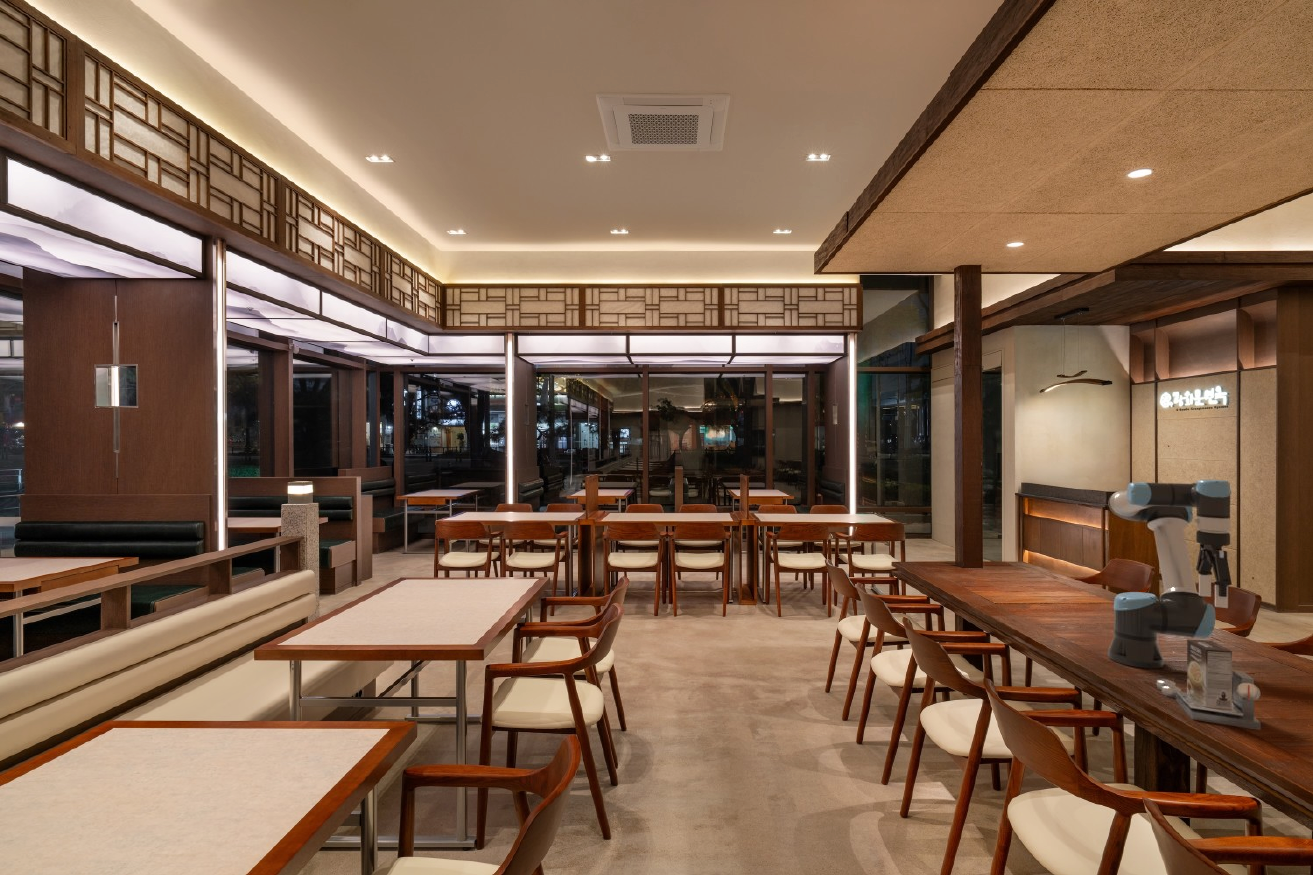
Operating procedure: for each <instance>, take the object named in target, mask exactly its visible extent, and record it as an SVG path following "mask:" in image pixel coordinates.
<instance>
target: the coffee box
mask: <svg viewBox="0 0 1313 875" xmlns="http://www.w3.org/2000/svg"><path fill="white" fill-rule="evenodd" d="M1186 649H1187V650H1186V661H1187V662H1186V692H1187V694H1188V695H1189V696H1191V697H1192V698H1193V699H1195V700H1196V701H1198V702H1199V703H1201V704H1202V705H1204V706H1205V707H1209V708H1221V709H1232V702H1233V650H1230V649H1229V648H1226V647H1225V646H1223V645H1221V644H1219V643H1217V642H1215V641H1214V640H1203V639H1186Z"/></svg>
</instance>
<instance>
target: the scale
mask: <svg viewBox="0 0 1313 875" xmlns="http://www.w3.org/2000/svg"><path fill="white" fill-rule="evenodd" d="M1254 682H1255V679H1254V678H1253V677H1252V676H1250V675H1249V674H1247V673H1246V672H1245V671H1239V670H1232V709H1221V708H1209V707H1205V706H1204V705H1202V704H1201V703H1199V702H1198V701H1196V700H1195V699H1193V698H1192V697H1191V696H1189V695H1188V694H1187V691H1181V692H1180V691H1177V693H1178V694H1177V693H1176V698H1175V701H1176V702H1177V703H1178V705H1179V706H1180V707H1181V708H1182V709H1183V710H1184V711H1185V713H1186V714H1187V715H1188V716H1189V718H1191V719H1192V720H1194V721H1201V722H1207V723H1212V724H1213V723H1214V724H1218V725H1219V724H1220V725H1223V726H1224V725H1225V726H1231V727H1236V728H1237V727H1238V728H1243V729H1244V728H1245V729H1251V730H1255V731H1256V730H1257V731H1261V730H1262V729H1261V728H1262V727H1261V726H1262V725H1261V722H1260V721H1259V719H1257V718H1256V717H1255V701H1257V700H1259V698H1260V697H1261V691H1260V688H1258V686H1257V685H1255V683H1254Z"/></svg>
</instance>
